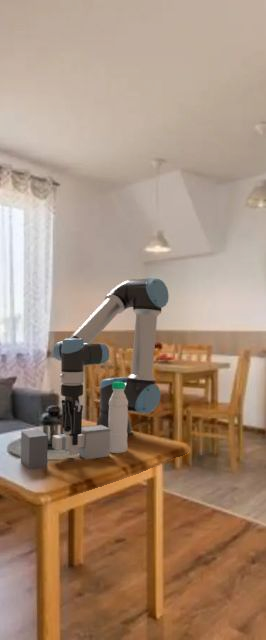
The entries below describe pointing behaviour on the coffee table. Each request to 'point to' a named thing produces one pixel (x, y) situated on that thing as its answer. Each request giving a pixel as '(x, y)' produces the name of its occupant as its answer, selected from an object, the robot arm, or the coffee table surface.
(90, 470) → the coffee table surface
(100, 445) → the sleeve
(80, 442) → the tube
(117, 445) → the water bottle
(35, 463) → the socket fitting
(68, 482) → the coffee table surface
